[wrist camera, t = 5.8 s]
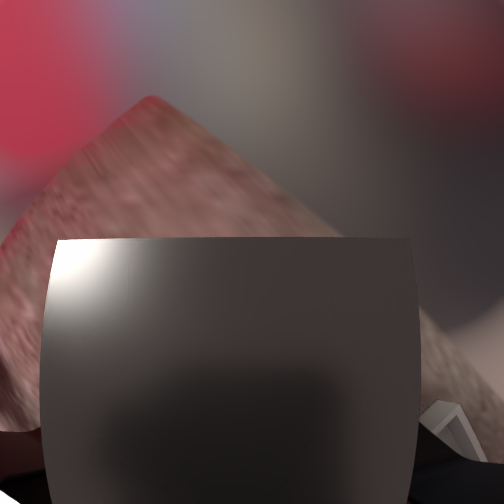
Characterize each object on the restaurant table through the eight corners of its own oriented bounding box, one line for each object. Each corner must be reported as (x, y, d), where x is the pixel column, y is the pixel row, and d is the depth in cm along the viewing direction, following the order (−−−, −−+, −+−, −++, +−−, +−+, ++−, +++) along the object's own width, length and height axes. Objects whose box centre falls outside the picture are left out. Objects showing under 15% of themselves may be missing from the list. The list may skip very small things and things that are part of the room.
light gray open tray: (478, 475, 14) (497, 484, 11) (406, 536, 13) (419, 552, 10) (437, 399, 18) (459, 403, 15) (352, 468, 17) (364, 485, 14)
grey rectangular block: (299, 411, 14) (385, 571, 1) (221, 409, 14) (59, 530, 2) (301, 336, 15) (409, 237, 3) (224, 335, 15) (57, 240, 3)
